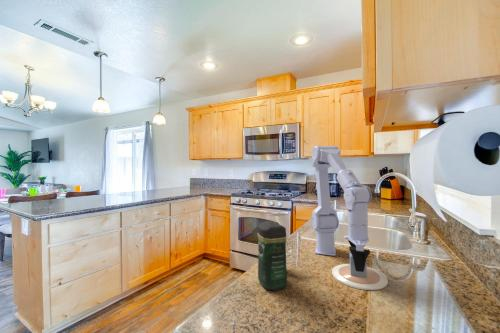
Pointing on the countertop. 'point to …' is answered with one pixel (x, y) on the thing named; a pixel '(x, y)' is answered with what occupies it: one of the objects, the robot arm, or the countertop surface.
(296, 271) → the countertop surface
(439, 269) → the countertop surface
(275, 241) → the coffee jar
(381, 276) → the plate
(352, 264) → the block
